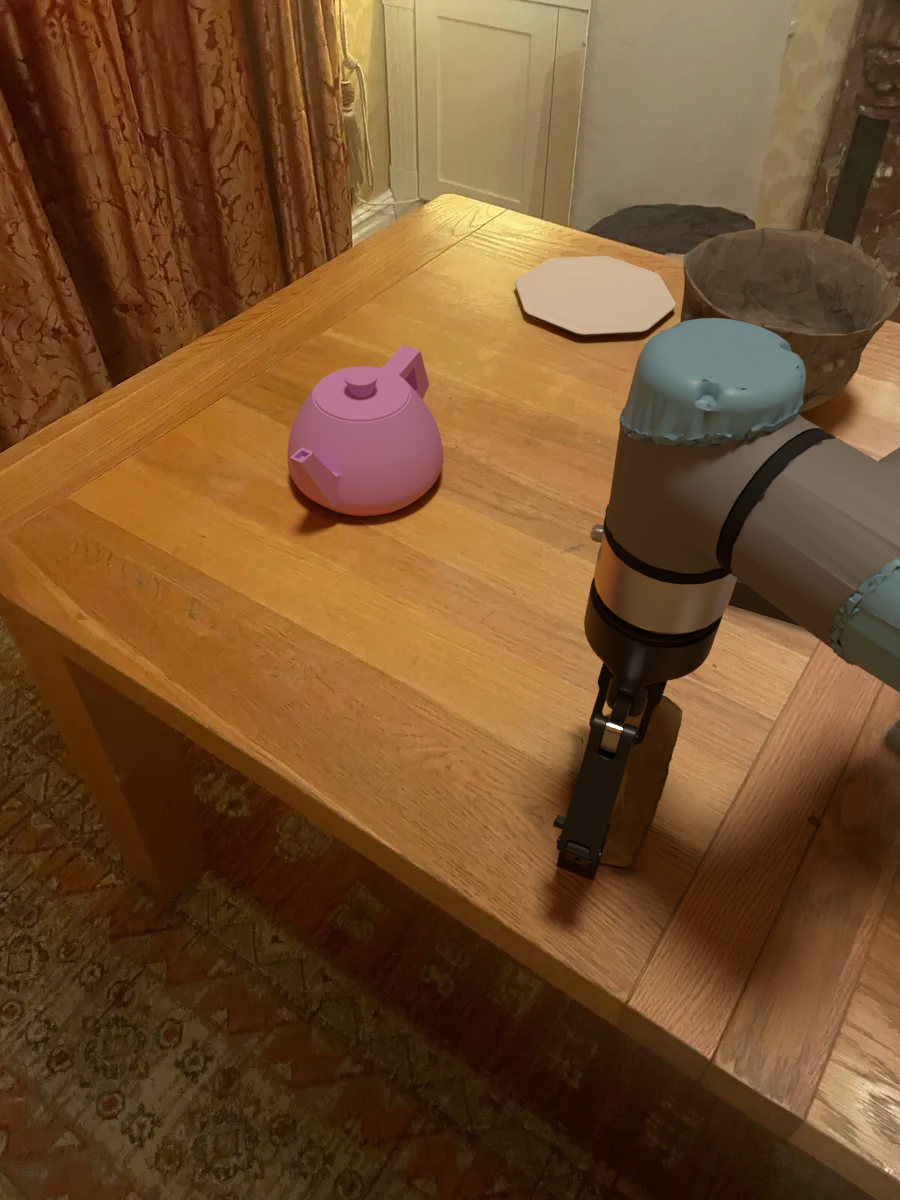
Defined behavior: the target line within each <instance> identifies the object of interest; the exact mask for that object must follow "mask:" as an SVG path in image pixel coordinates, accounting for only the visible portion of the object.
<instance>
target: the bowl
mask: <svg viewBox="0 0 900 1200" xmlns="http://www.w3.org/2000/svg"><path fill="white" fill-rule="evenodd" d="M682 262H683V263H682V267H683V276H684V277H683V278H684V285H683V298H682V305H681V310H680V318H679V319H680V322H684V321H688V320H694V319H702V318H723V319H732V320H738V321H743V322H746V323H750V324H754V325H757V326H759V327H762V328H765V329H767V330H769V331H771V332H773V333H775V334H777V335H778V336H780V337H782V338H783V339H784V340H786V341H787V342H788V343H789V344H790V348H791V351H792V352H793V353H796V354H798V356H799V357H800V358H801V359H802V360H803V364H804V366H805V370H806V383H805V388H804V392H803V403H804V404H803V405H802V406H801V412H800V413H803V412H807V411H810V410H812V409H814V408H817V407H819V406H821V405H823V404H825V403H826V402H828V401H830V400H831V399H833V398H834V397H836V396H837V395H838V394H840V392H842V391H843V390H844V389H845V388H846V387H847V386H848V384H849V382H850V381H851V380H852V378H853V377H854V375H855V374H856V373H857V371H858V369H859V366H860V362H861V359H862V354H863V352H864V350H865V349H866V347H867V346H868V344H869V343H870V342H871V340H872V339H873V337H874V335H875V334H876V333H878V332H879V330H880V329H881V328H882V327H883V326H884V324H885V323H886V322H887V321H888V319H889V318H890V317H891V316H892V314H893V313H894V312H895V311H896V309H897V307H898V305H899V303H900V287H899V286H897V285H896V286H891V287H888V286H886V280H887V270H886V269H884V268H883V267H879V262H878V261H876V260H875V258H873V257H872V256H870V255H869V254H868V253H865V251H864V250H862V249H860V248H858V247H856V246H855V245H854V244H851V243H849V242H847V241H845V240H843V239H842V240H841V239H839V238H836V237H834V236H831V235H829V234H825V233H822V232H817V231H814V230H813V231H812V230H798V229H787V228H780V227H779V228H778V227H769V226H767V227H766V226H765V227H761V228H749V229H743V230H737V231H733V232H726V233H720V234H718V235H715V236H714V237H711V238H707V239H705V240H703V241H701V242H699V243H698V244H697V246H695V247H693V248H692V249H691V250H690V251H687V252H686V253H685V255H684V257H683V261H682ZM680 322H679V323H680Z"/></svg>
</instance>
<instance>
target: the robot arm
mask: <svg viewBox="0 0 900 1200" xmlns="http://www.w3.org/2000/svg"><path fill="white" fill-rule="evenodd" d="M805 383H806V370H805V366H804V364H803V360H802V359H801V358H800V357H799V356H798V354H796V353H793V352H792V351H791V348H790V344H789V343H788V342H787V341H786V340H784V339H783V338H782V337H780V336H778V335H777V334H775V333H773V332H771V331H769V330H767V329H765V328H762V327H759V326H757V325H754V324H750V323H746V322H743V321H738V320H732V319H723V318H702V319H694V320H688V321H684V322H677V323H676V324H674V325H673V326H672V327H669V328H665V329H662V330H660V331H659V332H658V333H656V334H655V335H652V337H651V338H650V339H649V340H648V341H647V342H646V343H645V344H644V346H643V347H642V348H641V351H640V353H639V356H638V357H637V361H636V365H635V369H634V372H633V376H632V380H631V384H630V388H629V391H628V395H627V399H626V403H625V406H623V408H622V410H621V413H620V415H619V418H618V419H619V420H618V422H619V431H618V437H617V438H618V439H617V445H616V451H615V452H616V453H615V459H614V466H613V473H612V480H611V485H610V492H609V501H608V503H607V505H606V508H605V515H604V519H603V524H598V523H597V524H595V525H593V526H592V528H591V530H590V532H589V538H590V539H591V541H593V542H595V543H598V544H601V545H600V546H599V549H598V553H597V556H596V561H595V566H594V567H595V568H594V573H593V577H592V580H591V583H590V588H589V593H588V599H587V603H586V607H585V612H584V613H585V614H584V619H583V629H584V635H585V637H586V641H587V643H588V645H589V647H590V648H591V649H592V651H593V652H594V654H595V655H596V657H598V658H599V660H600V661H601V662H602V666H601V668H600V671H599V675H598V678H597V686H598V692H597V695H596V697H595V698H596V699H595V702H594V705H593V708H592V711H591V713H590V718H589V722H588V723H589V728H590V727H591V730H590V729H589V730H590V734H589V738H588V742H587V746H586V750H585V753H584V757H583V760H582V764H581V767H580V771H579V774H578V773H577V778H576V781H575V784H574V788H573V791H572V794H571V799H570V802H569V805H568V809H567V812H566V815H565V816H563V815H561V814H557V815H556V817H555V818H554V821H553V823H552V827H554V828H556V829H559V830H561V832H560V835H558V837H557V839H556V847H555V848H556V851H558V856H557V859H556V865H555V867H556V868H559V869H560V870H564V871H566V872H569V873H571V874H574V875H576V876H579V877H581V878H584V879H587V880H589V881H592V882H594V881H595V878H596V876H597V873H598V869H599V866H600V864H601V862H600V860H601V856H602V853H603V849H604V846H605V843H606V839H607V836H608V833H609V829H610V826H611V824H609V820H610V817H611V814H612V811H613V808H614V805H615V802H616V798H617V795H618V792H619V789H620V786H621V783H622V780H623V777H624V773H625V770H626V767H627V764H628V761H629V758H630V755H631V751H632V748H633V746H634V745H637V744H640V743H642V742H643V740H644V738H645V735H646V732H647V729H648V726H649V723H650V720H651V716H652V713H653V710H654V707H655V706H657V705H658V704H659V703H660V701H661V699H662V696H663V695H664V692H665V690H666V686H667V683H668V681H674V680H678V679H680V678H684V677H686V676H688V675H690V674H692V673H693V672H695V671H696V670H697V669H699V668H701V666H702V665H703V664H704V662H706V660H707V658H708V657H709V655H710V654H711V651H712V647H713V644H714V642H715V639H716V636H717V633H718V630H719V629H720V625H721V623H722V620H723V616H724V613H725V612H726V609H727V608H728V606H729V605H730V604H729V601H730V598H731V595H732V592H733V589H734V587H735V584H736V581H737V578H738V579H739V580H741V581H742V582H743V583H745V584H746V585H747V586H749V587H750V588H751V589H753V590H754V591H755V592H757V593H758V594H759V595H761V596H762V597H763V598H765V599H766V600H767V601H769V602H770V603H771V604H773V605H774V606H775V607H777V608H778V609H779V610H781V611H782V612H783V613H785V614H786V615H787V616H789V617H790V618H791V619H793V620H794V621H795V622H797V623H798V624H799V625H798V624H797V625H798V626H801V628H803V629H804V630H806V631H807V632H808V633H809V634H811V635H812V636H814V637H815V638H816V639H818V640H819V641H821V642H822V643H823V644H825V645H826V646H827V647H828V648H830V649H831V650H832V652H833V653H834V654H835V655H836V656H837V657H838V658H840V659H841V660H843V661H844V662H845V663H846V664H849V665H851V666H857V667H858V668H860V669H861V670H863V671H865V672H866V673H868V674H869V675H871V676H873V677H874V678H876V679H877V680H879V681H880V682H882V683H883V684H885V685H887V686H888V687H890V688H891V689H893V690H895V691H896V692H898V693H899V694H900V446H899V447H897V448H896V449H894V450H893V451H891V452H890V453H888V454H887V455H885V456H884V457H882V458H880V459H879V460H877V459H875V458H873V457H872V456H870V455H869V454H867V453H865V452H863V451H861V450H859V449H858V448H856V447H854V446H852V445H851V444H848V443H847V442H845V441H844V440H842V439H839V438H838V437H836V436H835V435H833V434H831V433H829V432H827V431H825V429H824V428H822V427H820V426H818V425H816V424H814V423H813V422H811V421H810V420H807V419H805V418H804V417H803V416H802V415H800V413H802V412H801V406H802V405H803V404H804V403H803V392H804V388H805ZM647 698H648V700H647ZM646 700H647V703H646ZM645 703H646V707H645V710H644V713H643V716H642V719H641V722H640V725H639V726H634V725H631V724H628V723H626V721H627V718H628V716H630V717H636V716H638V715H640V714H641V713H642V711H643V709H644V706H645ZM605 704H607V705H606V706H608V708H609V709H611V711H610V713H611V714H610V713H609V714H610V717H608V716H606V715H605V714H604V707H605Z"/></svg>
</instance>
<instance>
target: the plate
mask: <svg viewBox="0 0 900 1200" xmlns="http://www.w3.org/2000/svg"><path fill="white" fill-rule="evenodd" d="M514 286H515V289H516V291H517V295H518V298H519V300H520V304H521V306H522V310H523V312H524V313H525V314H526V315H527V316H528V317H530V318H533V319H535V320H537V321H540V322H543V323H545V324H548V325H551V326H552V327H556V328H558V329H560V330H563V331H565V332H567V333H569V334H573V335H575V336H580V337H599V336H600V337H601V336H620V335H621V336H623V335H639V334H640V335H641V334H644V333H647V332H648V331H649V330H651V329H652V328H653V327H655V326H656V325H657V324H658V323H660V321H662V320H663V319H664V318H665V317H666V316H668V315H669V314H670V313H672V312H673V311H675V309H676V307H677V302H676V301H675V299H674V296H673V295H672V293H671V292H670V290H669V288H668V287H667V285H666V284H665V282H664V280H663V278H662V276H661V275H660V274H659V273H657V272H655V271H651V270H649V269H646V268H643V267H640V266H637V265H635V264H632V263H629V262H626V261H625V260H621V259H617V258H615V257H612V256H608V255H588V256H564V257H551V258H547V259H546V260H544V261H543V262H541V263H539V264H537V265H536V266H535V267H533V268H531V269H530V270H527V272H525V273H523V274H522V275H521V276H519V277H517V278H516V280H515V282H514Z"/></svg>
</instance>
